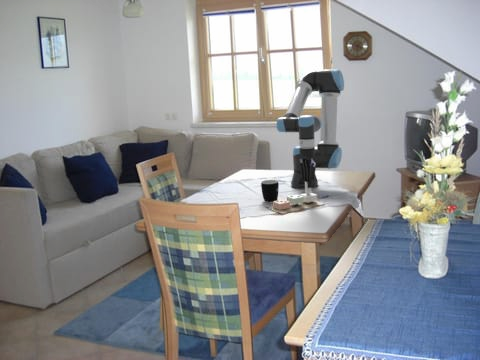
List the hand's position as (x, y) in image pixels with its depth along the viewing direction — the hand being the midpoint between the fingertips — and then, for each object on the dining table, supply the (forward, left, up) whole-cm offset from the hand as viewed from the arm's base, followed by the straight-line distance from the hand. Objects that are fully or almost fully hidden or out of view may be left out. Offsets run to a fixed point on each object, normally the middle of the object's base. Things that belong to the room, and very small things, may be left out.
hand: (308, 193), depth 281 cm
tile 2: (+8, 0, -3) cm, 8 cm away
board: (+8, 0, -5) cm, 9 cm away
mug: (+11, -19, -5) cm, 22 cm away
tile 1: (0, 0, -4) cm, 3 cm away
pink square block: (+16, 0, -4) cm, 16 cm away
